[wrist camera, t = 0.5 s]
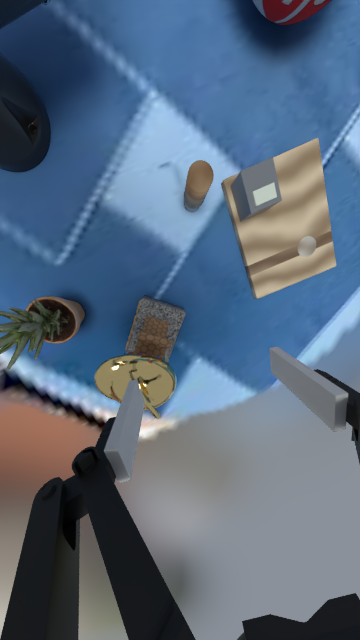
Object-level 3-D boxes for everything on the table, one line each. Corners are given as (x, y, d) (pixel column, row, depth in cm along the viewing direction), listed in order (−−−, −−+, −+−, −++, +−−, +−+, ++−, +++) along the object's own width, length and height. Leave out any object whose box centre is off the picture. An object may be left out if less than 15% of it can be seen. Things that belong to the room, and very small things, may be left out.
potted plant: (61, 336, 41) (-85, 419, 17) (43, 299, 39) (-158, 337, 15) (100, 325, 41) (7, 394, 17) (84, 287, 39) (-50, 307, 15)
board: (221, 184, 35) (223, 179, 34) (311, 143, 34) (318, 137, 33) (254, 298, 42) (257, 298, 40) (330, 266, 41) (336, 266, 40)
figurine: (140, 293, 40) (98, 321, 16) (183, 308, 41) (204, 353, 17) (125, 345, 43) (70, 436, 19) (165, 357, 45) (162, 454, 20)
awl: (179, 196, 35) (183, 166, 26) (197, 188, 35) (208, 155, 25) (186, 216, 36) (193, 195, 27) (203, 208, 36) (216, 184, 26)
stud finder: (230, 186, 34) (241, 170, 29) (258, 173, 34) (274, 155, 29) (240, 222, 36) (252, 212, 31) (266, 210, 36) (283, 199, 30)
